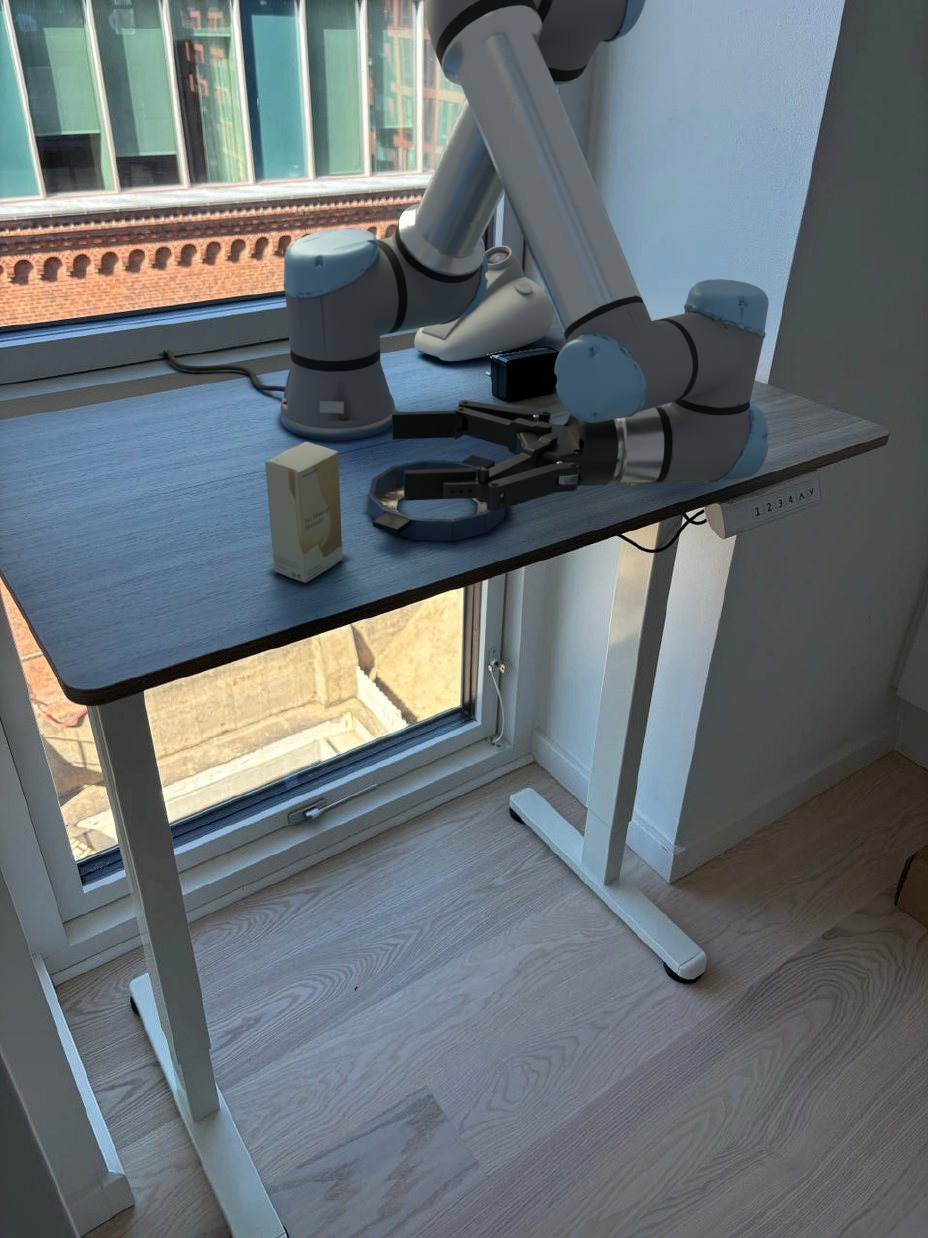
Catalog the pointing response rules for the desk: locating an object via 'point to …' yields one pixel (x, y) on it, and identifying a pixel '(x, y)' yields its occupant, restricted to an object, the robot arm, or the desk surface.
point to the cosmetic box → (304, 510)
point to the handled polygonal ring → (387, 518)
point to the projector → (493, 315)
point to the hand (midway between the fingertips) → (397, 453)
